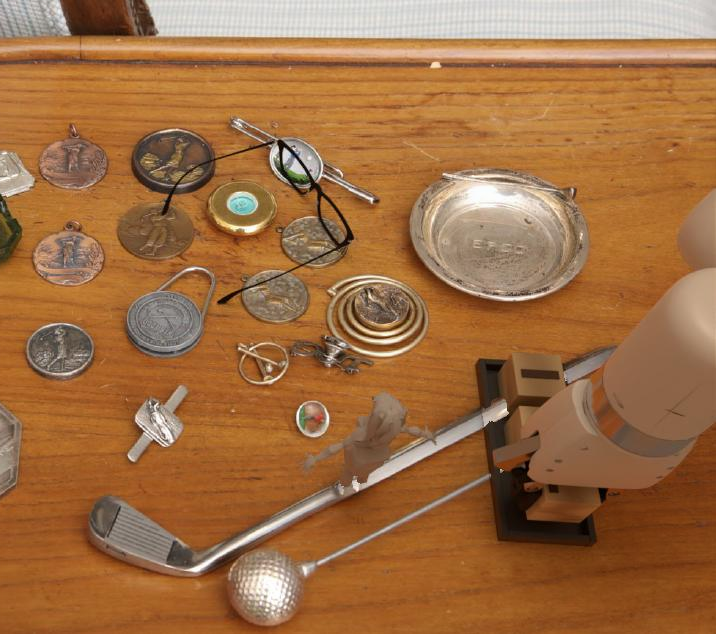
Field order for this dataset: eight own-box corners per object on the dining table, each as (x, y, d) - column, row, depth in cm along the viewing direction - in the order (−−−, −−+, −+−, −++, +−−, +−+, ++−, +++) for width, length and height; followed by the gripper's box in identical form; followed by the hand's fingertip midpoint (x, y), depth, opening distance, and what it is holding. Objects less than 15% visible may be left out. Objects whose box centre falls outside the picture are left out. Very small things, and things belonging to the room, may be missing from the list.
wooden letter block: (570, 473, 81) (592, 452, 77) (579, 523, 79) (602, 503, 75) (519, 470, 81) (538, 449, 77) (526, 519, 79) (546, 500, 75)
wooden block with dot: (551, 429, 86) (570, 407, 82) (558, 474, 84) (578, 454, 80) (502, 426, 86) (519, 404, 82) (509, 471, 84) (526, 450, 80)
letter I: (543, 377, 89) (561, 353, 85) (550, 419, 87) (569, 397, 83) (496, 374, 89) (512, 350, 85) (502, 416, 87) (519, 394, 83)
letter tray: (557, 371, 90) (564, 362, 88) (589, 548, 81) (597, 542, 79) (473, 366, 90) (478, 357, 89) (495, 542, 81) (502, 536, 80)
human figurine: (402, 459, 85) (455, 367, 70) (417, 497, 83) (476, 410, 68) (278, 487, 84) (305, 399, 68) (290, 526, 82) (321, 445, 66)
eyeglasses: (356, 260, 97) (363, 237, 93) (225, 317, 93) (228, 296, 90) (277, 154, 104) (281, 129, 101) (153, 203, 101) (153, 179, 97)
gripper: (753, 363, 66) (639, 462, 81) (517, 348, 66) (447, 449, 82) (784, 460, 62) (657, 544, 77) (532, 444, 62) (456, 531, 78)
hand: (550, 495), depth 79 cm, fingers closed on wooden letter block, 4 cm apart
